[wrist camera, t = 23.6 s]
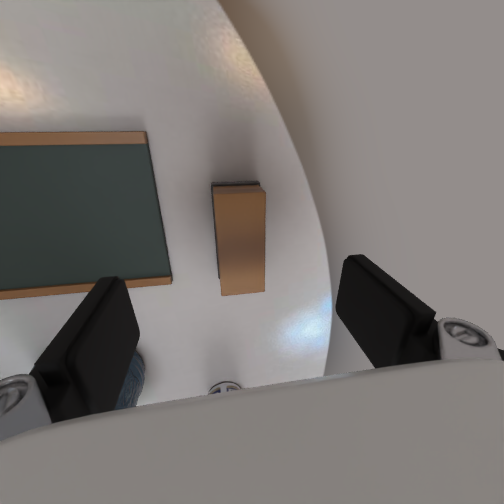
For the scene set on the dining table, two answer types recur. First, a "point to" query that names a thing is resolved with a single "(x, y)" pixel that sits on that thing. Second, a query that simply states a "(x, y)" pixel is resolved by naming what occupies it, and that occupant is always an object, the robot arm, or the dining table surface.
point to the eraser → (240, 236)
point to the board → (78, 213)
